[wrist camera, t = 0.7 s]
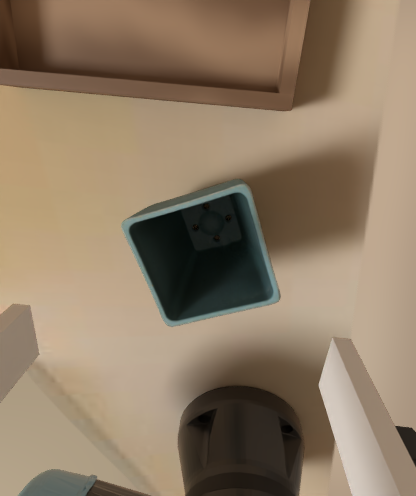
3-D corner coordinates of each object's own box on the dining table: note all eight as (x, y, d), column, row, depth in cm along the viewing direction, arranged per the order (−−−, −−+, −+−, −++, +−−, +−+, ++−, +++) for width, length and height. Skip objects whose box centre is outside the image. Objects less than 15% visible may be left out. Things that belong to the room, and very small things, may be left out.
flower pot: (183, 274, 32) (166, 330, 23) (150, 191, 29) (117, 222, 20) (268, 251, 30) (282, 302, 22) (243, 161, 27) (248, 181, 19)
